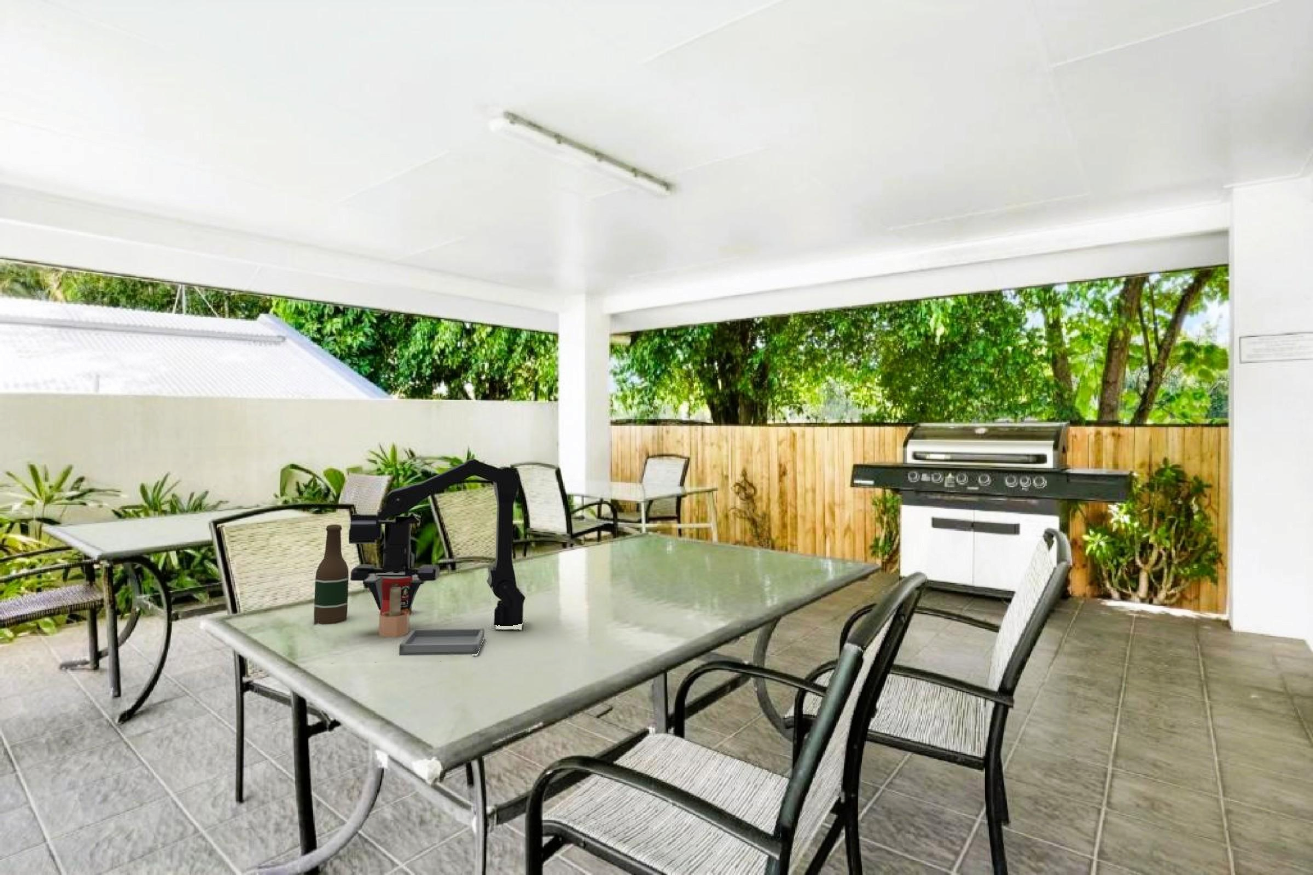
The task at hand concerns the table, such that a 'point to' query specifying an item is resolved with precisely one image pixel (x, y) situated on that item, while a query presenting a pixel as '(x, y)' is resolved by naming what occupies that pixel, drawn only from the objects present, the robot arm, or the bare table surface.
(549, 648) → the table surface
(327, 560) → the beer bottle
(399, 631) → the cup
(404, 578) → the canned food
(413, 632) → the tray
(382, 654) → the table surface
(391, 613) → the dowel pin
